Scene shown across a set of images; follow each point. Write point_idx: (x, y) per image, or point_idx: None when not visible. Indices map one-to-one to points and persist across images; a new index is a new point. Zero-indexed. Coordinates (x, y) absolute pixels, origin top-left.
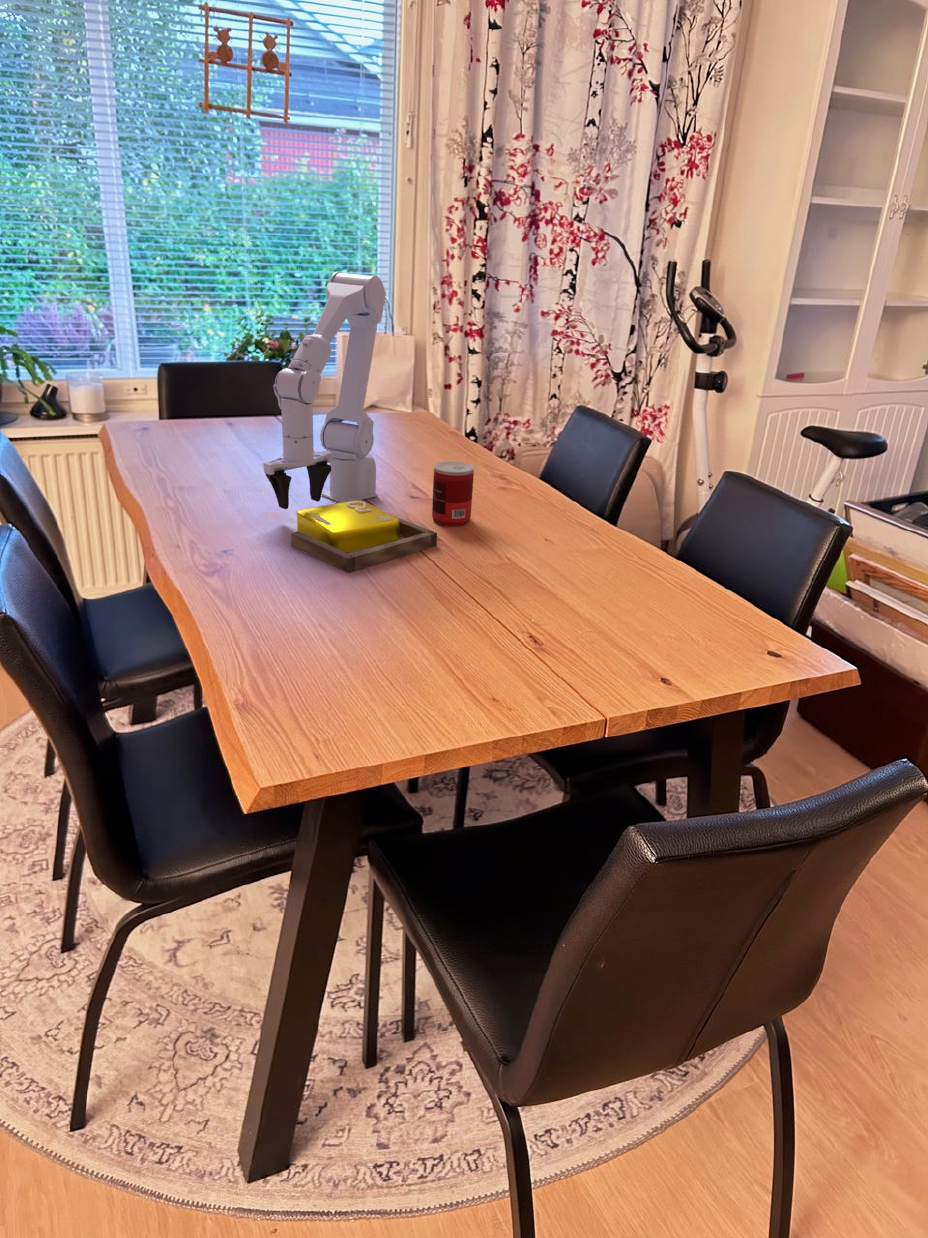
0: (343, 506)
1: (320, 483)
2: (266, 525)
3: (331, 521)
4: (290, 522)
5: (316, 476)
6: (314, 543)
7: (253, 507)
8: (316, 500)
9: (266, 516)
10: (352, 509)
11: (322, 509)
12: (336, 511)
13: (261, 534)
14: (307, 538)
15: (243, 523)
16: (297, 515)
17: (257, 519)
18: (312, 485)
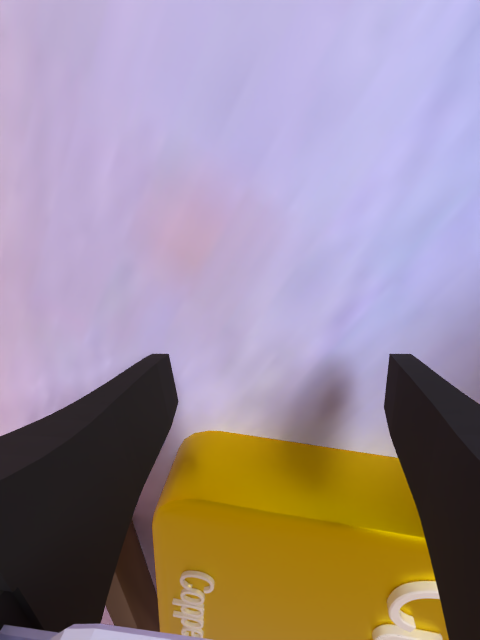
0: (378, 581)
1: (427, 537)
2: (101, 334)
3: (215, 630)
4: (207, 360)
5: (448, 559)
6: (114, 624)
7: (141, 19)
8: (385, 403)
9: (146, 231)
10: (379, 615)
11: (269, 555)
12: (304, 594)
13: (52, 398)
14: (112, 600)
15: (16, 259)
16: (155, 510)
17: (90, 246)
18: (422, 430)
